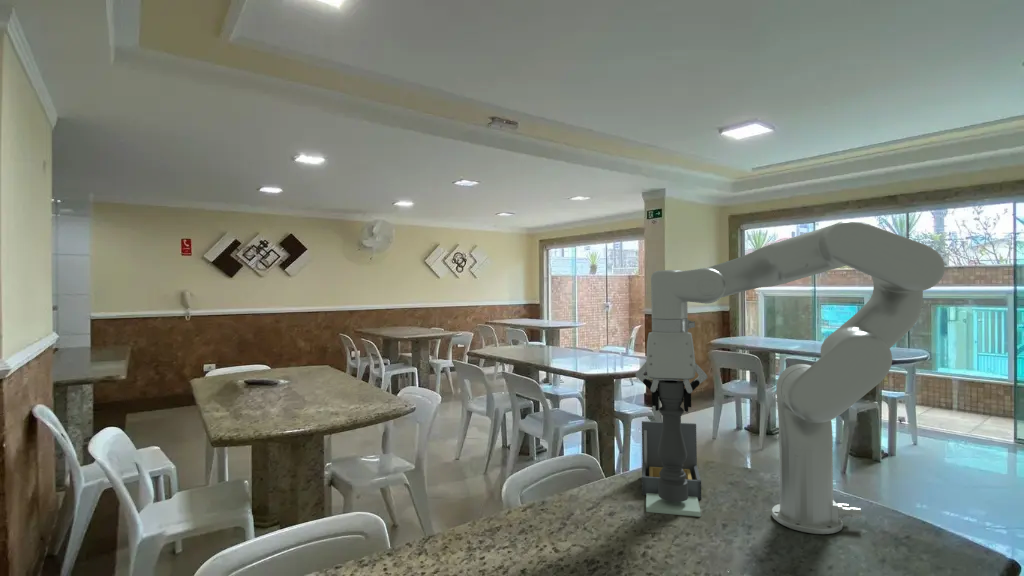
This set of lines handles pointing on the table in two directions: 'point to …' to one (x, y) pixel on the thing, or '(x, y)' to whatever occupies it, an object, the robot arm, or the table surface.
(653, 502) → the sage pad
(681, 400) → the candle holder
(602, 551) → the table surface
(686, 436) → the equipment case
